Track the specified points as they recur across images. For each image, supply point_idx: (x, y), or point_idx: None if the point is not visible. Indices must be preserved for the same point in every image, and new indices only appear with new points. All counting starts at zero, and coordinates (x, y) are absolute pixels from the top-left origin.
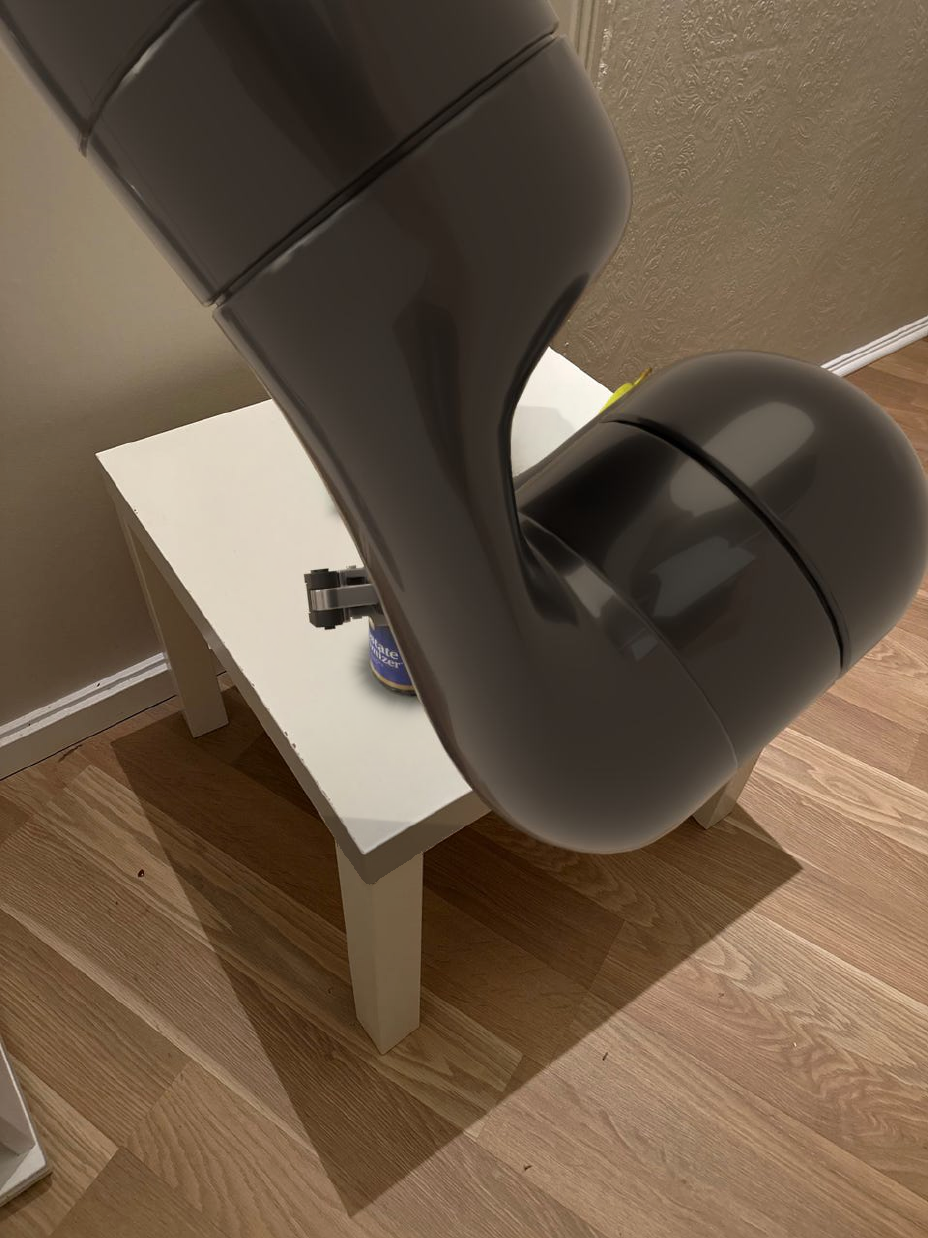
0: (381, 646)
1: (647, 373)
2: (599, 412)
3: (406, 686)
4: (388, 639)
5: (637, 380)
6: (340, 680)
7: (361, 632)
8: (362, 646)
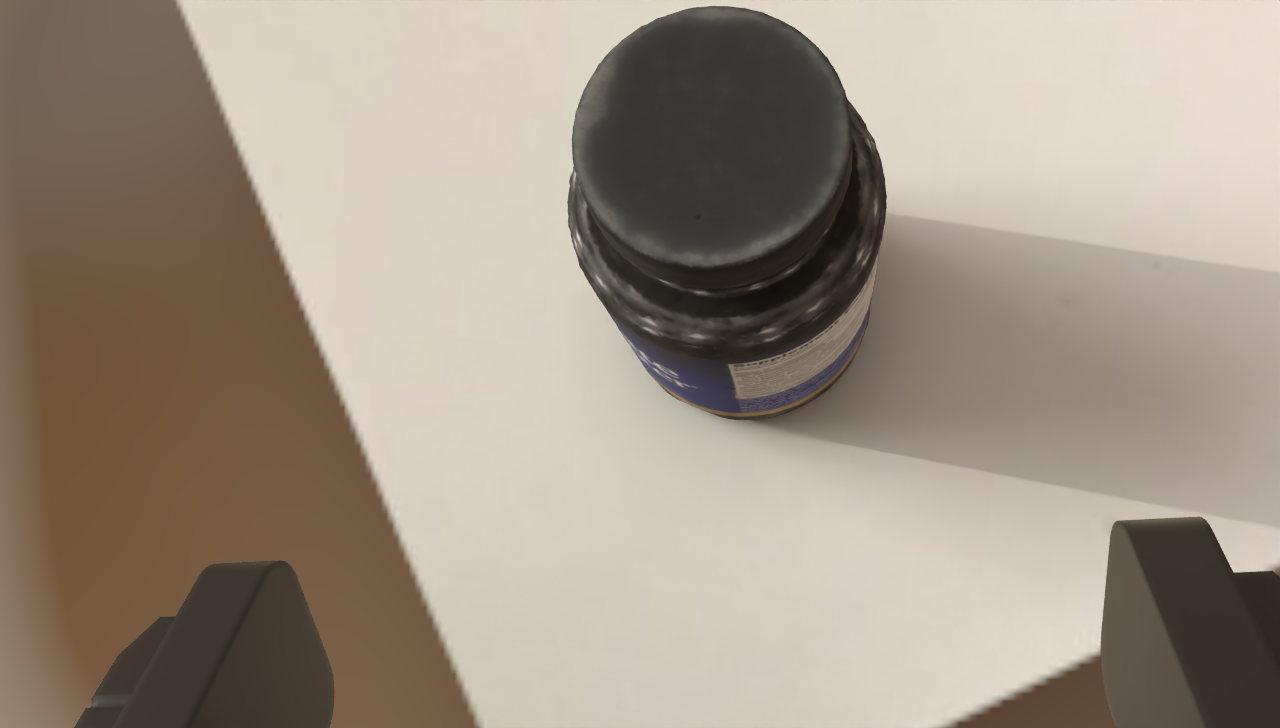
0: (626, 337)
1: None
2: None
3: (719, 411)
4: (639, 344)
5: None
6: (540, 342)
7: None
8: None
